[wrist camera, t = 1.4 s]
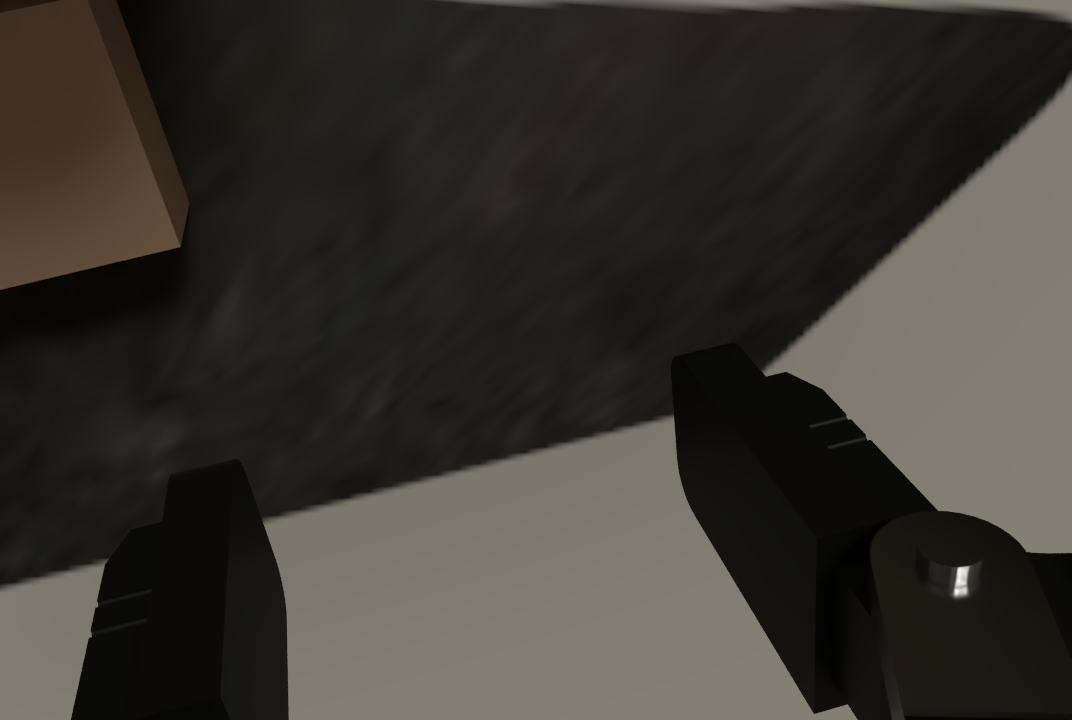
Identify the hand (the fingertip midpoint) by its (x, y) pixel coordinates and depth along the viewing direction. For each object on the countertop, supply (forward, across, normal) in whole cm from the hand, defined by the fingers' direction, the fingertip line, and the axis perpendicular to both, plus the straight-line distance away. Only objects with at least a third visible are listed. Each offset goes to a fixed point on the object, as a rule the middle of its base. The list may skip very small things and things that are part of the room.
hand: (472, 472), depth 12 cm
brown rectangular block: (+23, +10, 0) cm, 25 cm away
